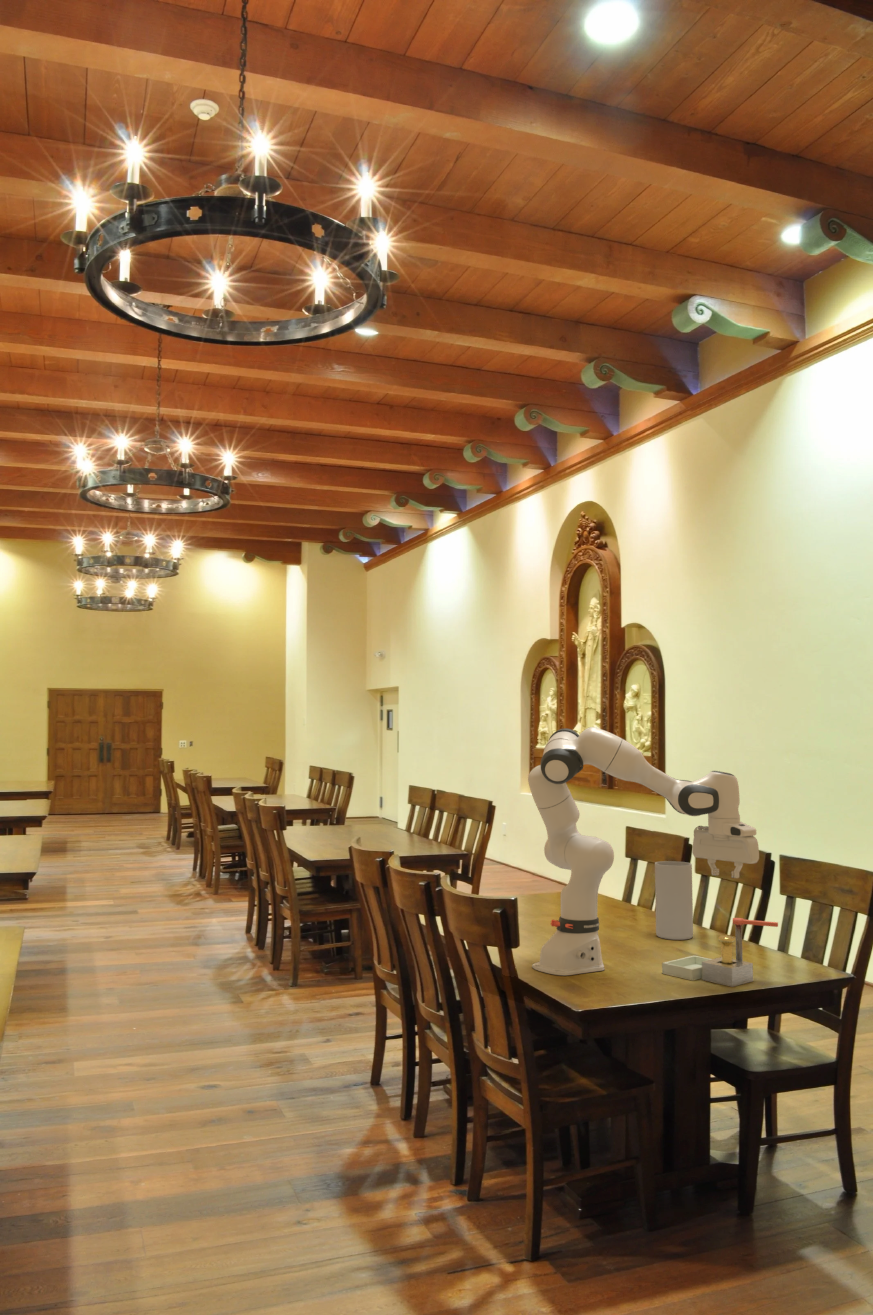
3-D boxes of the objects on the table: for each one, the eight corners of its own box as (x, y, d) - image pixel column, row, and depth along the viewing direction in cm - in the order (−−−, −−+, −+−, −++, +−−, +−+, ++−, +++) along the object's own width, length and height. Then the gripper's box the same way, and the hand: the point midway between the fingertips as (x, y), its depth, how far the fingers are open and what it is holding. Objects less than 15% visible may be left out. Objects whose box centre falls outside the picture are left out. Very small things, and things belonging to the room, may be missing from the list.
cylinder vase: (690, 933, 341) (688, 861, 343) (696, 941, 329) (694, 866, 331) (653, 932, 342) (652, 861, 344) (658, 940, 330) (657, 865, 332)
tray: (692, 980, 275) (692, 969, 275) (662, 973, 283) (662, 963, 283) (724, 972, 285) (724, 961, 285) (694, 965, 293) (694, 955, 293)
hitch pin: (729, 983, 272) (728, 939, 273) (716, 980, 275) (715, 937, 276) (738, 981, 275) (737, 937, 276) (725, 978, 278) (724, 935, 279)
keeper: (731, 924, 279) (731, 919, 279) (733, 922, 282) (733, 917, 282) (776, 928, 274) (776, 923, 274) (778, 926, 277) (778, 921, 277)
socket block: (732, 987, 268) (731, 932, 269) (702, 980, 276) (701, 927, 277) (758, 980, 276) (756, 927, 277) (727, 973, 284) (726, 921, 285)
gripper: (687, 825, 285) (688, 873, 284) (748, 831, 269) (750, 881, 268) (700, 824, 289) (701, 871, 287) (761, 829, 273) (762, 879, 272)
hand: (725, 876), depth 277 cm, fingers open, 5 cm apart
